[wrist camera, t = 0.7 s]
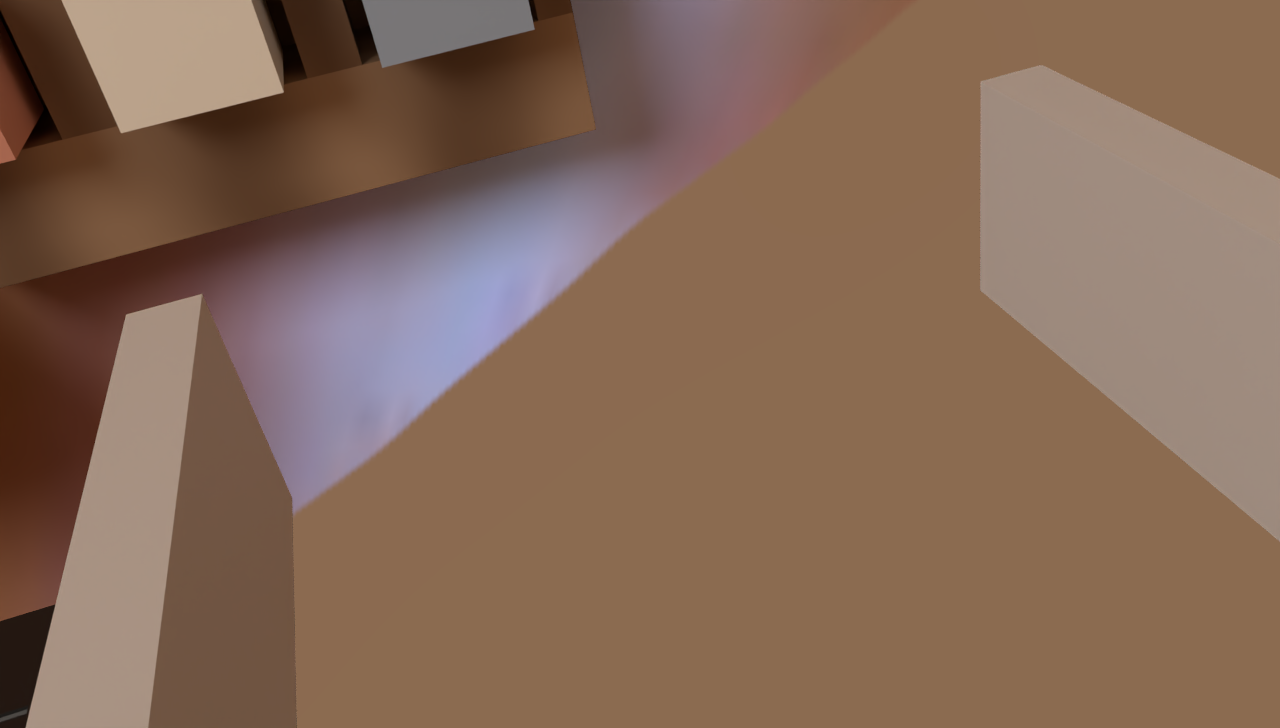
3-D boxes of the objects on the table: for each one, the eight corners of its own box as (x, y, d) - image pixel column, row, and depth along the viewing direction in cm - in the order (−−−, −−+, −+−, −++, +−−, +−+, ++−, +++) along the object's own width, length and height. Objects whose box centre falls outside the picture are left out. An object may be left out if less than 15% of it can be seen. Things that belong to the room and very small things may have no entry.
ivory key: (137, 86, 31) (120, 133, 27) (72, -65, 28) (46, -34, 25) (283, 50, 31) (284, 92, 28) (230, -100, 29) (225, -74, 26)
